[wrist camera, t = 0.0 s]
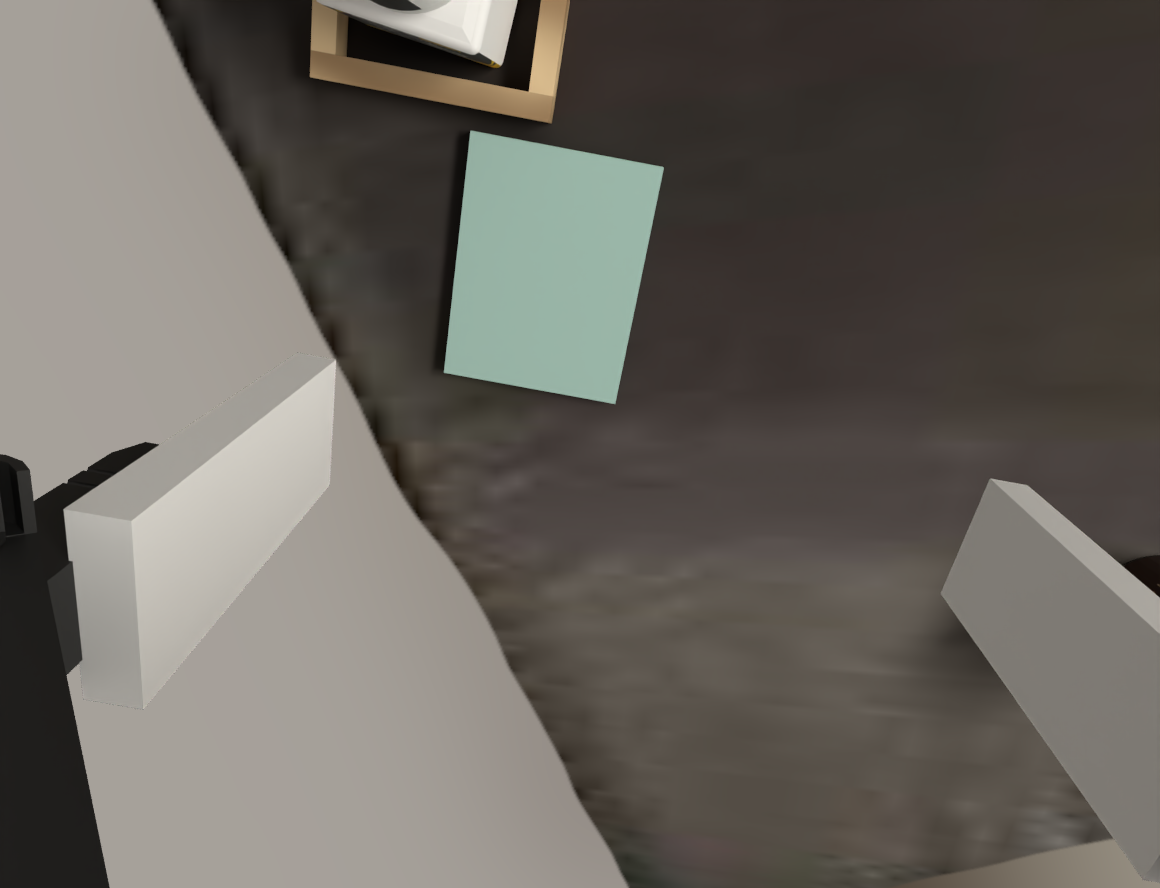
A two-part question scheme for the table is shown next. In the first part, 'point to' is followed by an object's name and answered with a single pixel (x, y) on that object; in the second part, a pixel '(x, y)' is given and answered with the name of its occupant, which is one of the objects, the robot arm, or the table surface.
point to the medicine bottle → (440, 23)
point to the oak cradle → (531, 105)
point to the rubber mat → (548, 266)
